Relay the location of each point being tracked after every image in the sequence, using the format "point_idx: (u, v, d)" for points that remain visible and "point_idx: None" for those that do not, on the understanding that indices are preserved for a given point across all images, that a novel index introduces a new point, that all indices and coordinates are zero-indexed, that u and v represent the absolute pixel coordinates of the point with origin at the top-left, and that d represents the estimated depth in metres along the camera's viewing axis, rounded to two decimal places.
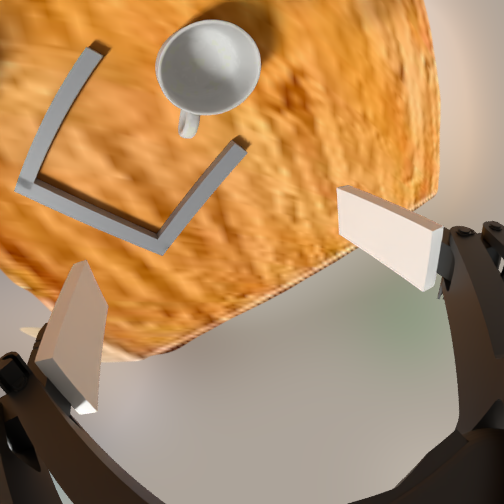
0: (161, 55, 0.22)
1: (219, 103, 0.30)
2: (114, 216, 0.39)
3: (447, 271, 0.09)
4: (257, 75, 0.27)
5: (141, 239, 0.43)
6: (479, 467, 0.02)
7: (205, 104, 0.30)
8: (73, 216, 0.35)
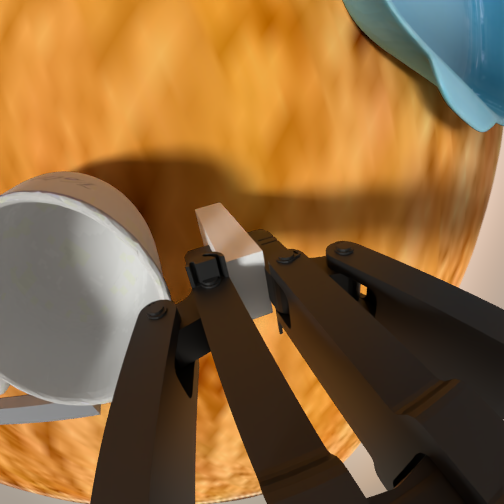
0: None
1: (61, 369, 0.12)
2: None
3: (280, 305, 0.10)
4: None
5: None
6: (479, 467, 0.02)
7: (41, 349, 0.12)
8: None
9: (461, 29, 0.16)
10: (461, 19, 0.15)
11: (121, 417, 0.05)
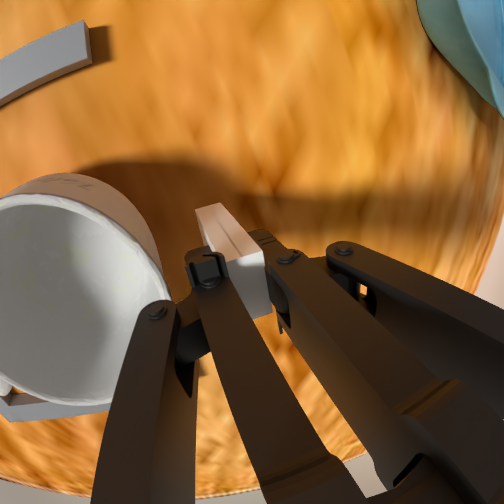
0: None
1: (63, 369, 0.12)
2: None
3: (280, 305, 0.10)
4: None
5: None
6: (479, 467, 0.02)
7: (43, 350, 0.13)
8: None
9: (493, 47, 0.18)
10: (493, 39, 0.17)
11: (121, 417, 0.05)
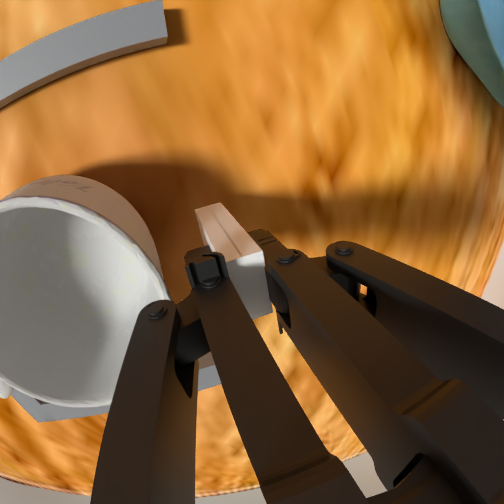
0: None
1: (64, 371, 0.12)
2: None
3: (280, 305, 0.10)
4: None
5: (16, 389, 0.16)
6: (479, 467, 0.02)
7: (44, 352, 0.13)
8: None
9: None
10: None
11: (121, 417, 0.05)
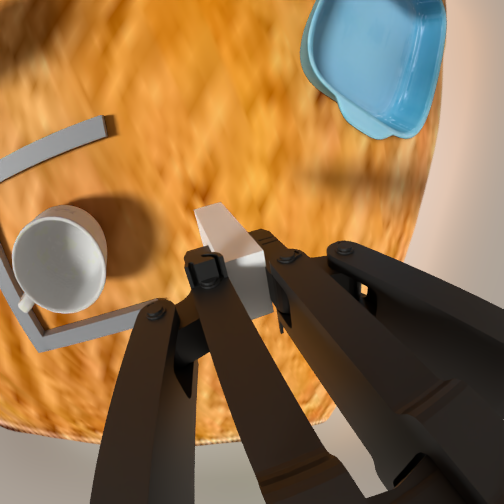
0: (22, 231, 0.21)
1: (59, 298, 0.27)
2: (18, 287, 0.29)
3: (281, 305, 0.10)
4: (95, 297, 0.27)
5: (28, 325, 0.30)
6: (478, 467, 0.02)
7: (50, 290, 0.27)
8: None
9: (392, 76, 0.35)
10: (394, 69, 0.34)
11: (120, 417, 0.05)
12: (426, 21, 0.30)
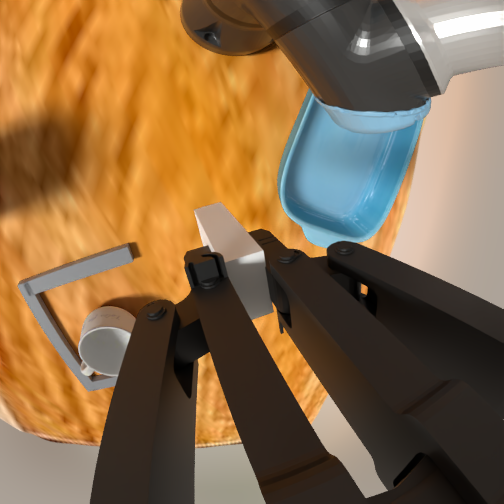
0: (85, 334, 0.36)
1: (111, 365, 0.42)
2: (72, 351, 0.44)
3: (281, 305, 0.10)
4: None
5: (81, 375, 0.45)
6: (479, 467, 0.02)
7: (103, 359, 0.42)
8: (46, 333, 0.40)
9: (362, 176, 0.48)
10: (365, 169, 0.48)
11: (120, 417, 0.05)
12: None
